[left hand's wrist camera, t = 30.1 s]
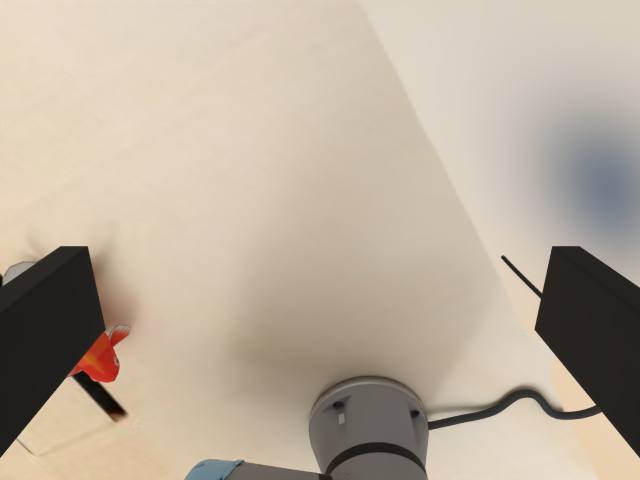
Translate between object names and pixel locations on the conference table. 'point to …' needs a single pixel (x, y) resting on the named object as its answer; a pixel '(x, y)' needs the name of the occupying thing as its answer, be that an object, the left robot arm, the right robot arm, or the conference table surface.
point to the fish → (101, 354)
